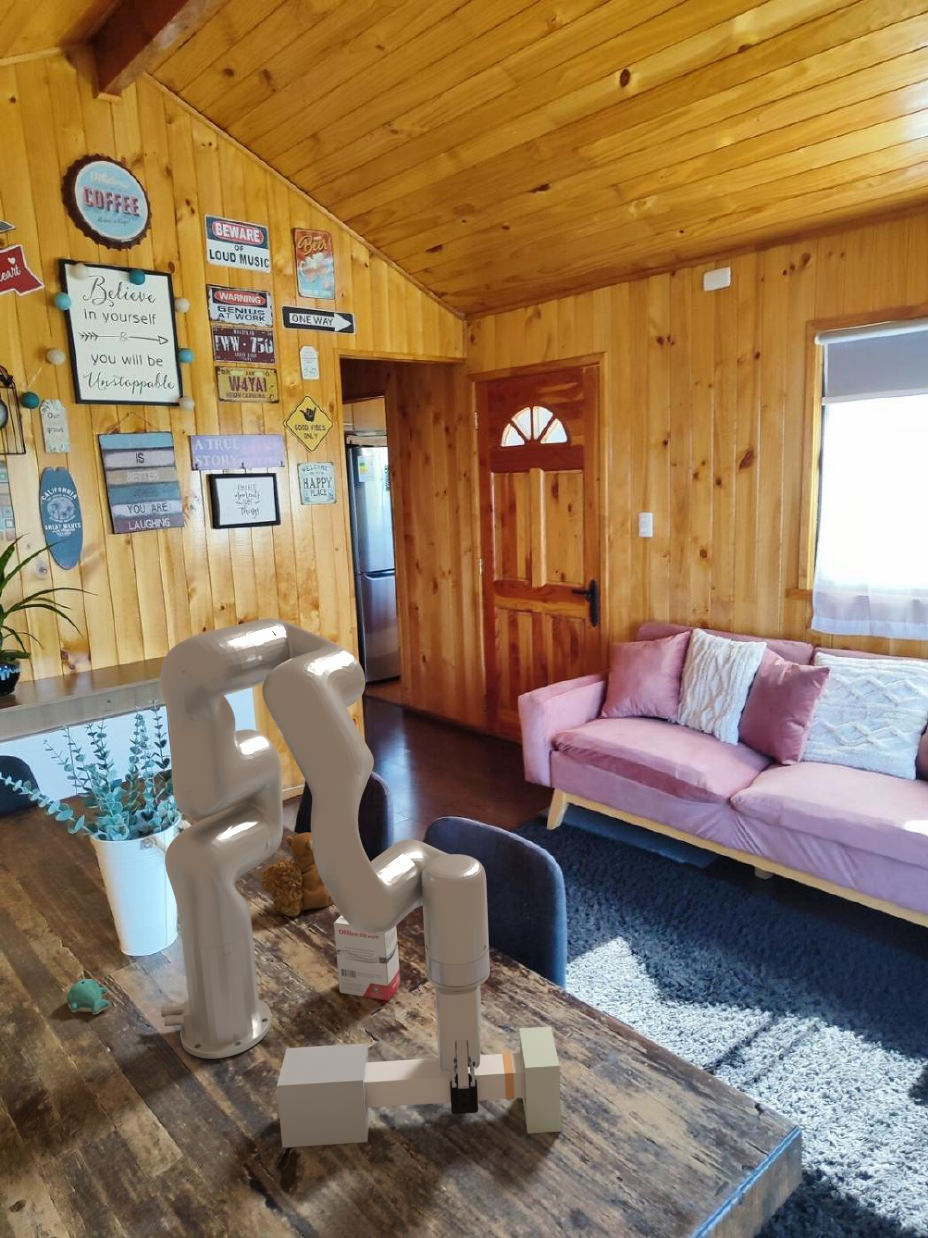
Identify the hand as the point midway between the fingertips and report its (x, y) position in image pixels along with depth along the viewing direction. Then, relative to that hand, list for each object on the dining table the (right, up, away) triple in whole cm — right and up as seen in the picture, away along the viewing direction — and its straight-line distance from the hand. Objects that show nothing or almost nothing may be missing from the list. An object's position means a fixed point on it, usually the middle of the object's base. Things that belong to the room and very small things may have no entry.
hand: (464, 1097), depth 100 cm
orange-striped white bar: (-4, +1, 0) cm, 4 cm away
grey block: (-17, -3, 0) cm, 17 cm away
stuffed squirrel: (-30, +5, +53) cm, 61 cm away
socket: (+9, -2, +1) cm, 10 cm away
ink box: (-15, +1, +27) cm, 30 cm away
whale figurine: (-57, -1, +25) cm, 62 cm away
